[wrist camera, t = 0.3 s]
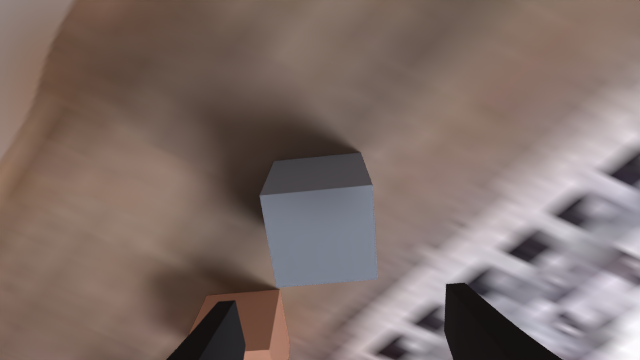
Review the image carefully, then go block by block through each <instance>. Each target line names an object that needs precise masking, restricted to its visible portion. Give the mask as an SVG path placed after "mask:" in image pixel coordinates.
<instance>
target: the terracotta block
mask: <svg viewBox="0 0 640 360" xmlns="http://www.w3.org/2000/svg"><path fill="white" fill-rule="evenodd" d="M231 300H236V305H237V309H238V313H239V318H240V322H241V327H242V331H243V335H244V340H245V344H246V347H245V354H244V360H288V359H289V349H290V343H289V338H288V332H287V327H286V321H285V316H284V310H283V305H282V299H281V294H280V289H279V290H267V291H255V292H243V293H231V294H219V295H207V296H206V298H205V300H204V303H203V305H202V307H201V309H200V311H199V313H198V316H197V318H196V320H195V322H194V324H193V326H192V329H191V331H190V333H191V332H192V331H193V330H194V329H195V328H196V326H197V325H198V324H199V323H200V322H201V321H202V319H203V318H204V317H205V316H206V315H207V314H208V312H209V311H210V310H211V309H212V308H213V307H214V306H215V304H216V303H217V302H218V301H231ZM190 333H189V334H190ZM188 336H189V335H188Z"/></svg>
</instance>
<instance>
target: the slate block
mask: <svg viewBox="0 0 640 360" xmlns="http://www.w3.org/2000/svg"><path fill="white" fill-rule="evenodd" d="M260 201H261V206H262V212H263V217H264V222H265V228H266V233H267V239H268V244H269V250H270V255H271V260H272V266H273V271H274V277H275V282H276V287H277V288H278V287H290V286H302V285H314V284H326V283H338V282H350V281H362V280H374V279H378V276H377V258H376V239H375V221H374V202H373V185H372V182H371V179H370V177H369V174H368V171H367V168H366V166H365V163H364V160H363V157H362V155H361V153H351V154H341V155H331V156H321V157H310V158H300V159H290V160H280V161H274V162H273V165H272V167H271V169H270V172H269V174H268V177H267V179H266V181H265V184H264V186H263V189H262V191H261V193H260Z"/></svg>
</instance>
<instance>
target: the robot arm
mask: <svg viewBox="0 0 640 360" xmlns="http://www.w3.org/2000/svg"><path fill="white" fill-rule="evenodd" d="M444 332H445V335H446V339H447V342H448V345H449V348H450V351H451V354H452V357H453V360H562V359H561V358H559V357H558V356H556V355H555V354H553V353H552V352H551V351H549V350H548V349H546V348H545V347H544V346H542V345H541V344H539V343H538V342H537V341H535V340H534V339H533V338H531V337H530V336H528V335H527V334H526V333H525V332H523V331H522V330H521V329H519V328H518V327H517V326H516V325H514V324H513V323H512V322H511V321H509V320H508V319H507V318H506V317H504V316H503V315H502V314H501V313H499V312H498V311H497V310H496V309H495V308H494V307H492V306H491V305H490V304H489V303H488V302H486V301H485V300H484V299H483V298H482V297H481V296H479V295H478V294H477V293H476V292H475V291H474V290H472V289H471V288H470V287H469V286H468V285H467V284H465V283H455V284H446V300H445V324H444ZM245 347H246V344H245V340H244V335H243V331H242V327H241V322H240V318H239V313H238V309H237V305H236V300H231V301H218V302H217V303H216V304H215V306H214V307H213V308H212V309H211V310H210V311H209V312H208V314H207V315H206V316H205V317H204V318H203V319H202V321H201V322H200V323H199V324H198V325H197V326H196V328H195V329H194V330H193V331H192V332H191V333H190V334H189V336H188V337H187V338H186V339H185V340H184V341H183V342H182V343H181V344H180V346H179V347H178V348H177V349H176V350H175V351H174V352H173V353H172V354H171V355H170V356H169V357H168V358H167V359H166V360H244V354H245Z"/></svg>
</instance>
